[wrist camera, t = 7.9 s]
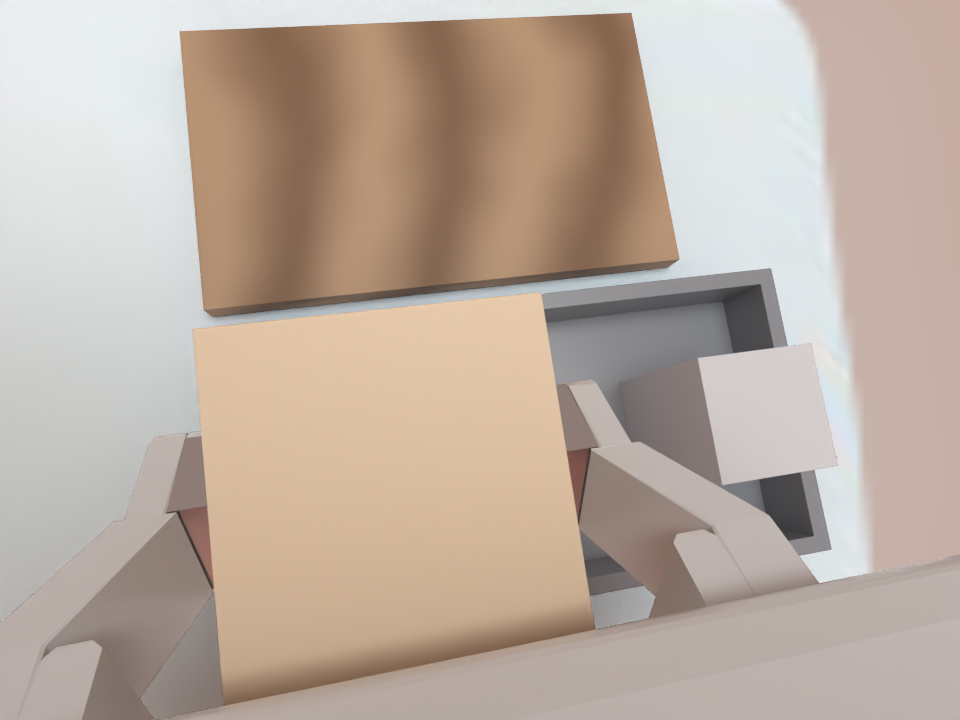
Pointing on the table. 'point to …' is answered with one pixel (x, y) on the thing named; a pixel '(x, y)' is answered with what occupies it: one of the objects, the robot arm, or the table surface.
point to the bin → (667, 342)
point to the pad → (419, 158)
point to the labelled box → (385, 491)
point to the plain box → (734, 414)
